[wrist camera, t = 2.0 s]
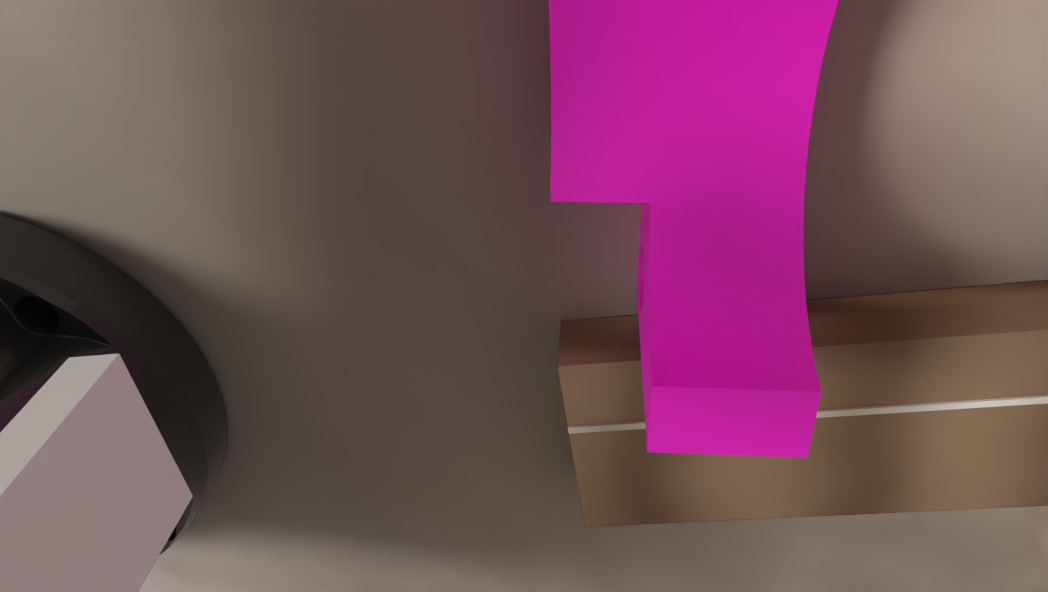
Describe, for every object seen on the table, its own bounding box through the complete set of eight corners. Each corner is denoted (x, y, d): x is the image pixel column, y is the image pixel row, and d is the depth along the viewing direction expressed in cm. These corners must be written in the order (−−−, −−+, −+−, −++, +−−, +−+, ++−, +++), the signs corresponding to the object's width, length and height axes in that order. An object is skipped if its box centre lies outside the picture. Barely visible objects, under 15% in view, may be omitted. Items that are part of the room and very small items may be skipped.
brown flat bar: (585, 476, 30) (584, 528, 28) (560, 321, 27) (557, 368, 25) (1085, 448, 28) (1124, 503, 26) (1134, 273, 24) (1185, 320, 22)
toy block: (554, -293, 18) (529, -326, 12) (846, -304, 18) (983, -344, 11) (557, 284, 26) (543, 448, 20) (757, 288, 26) (806, 458, 19)
